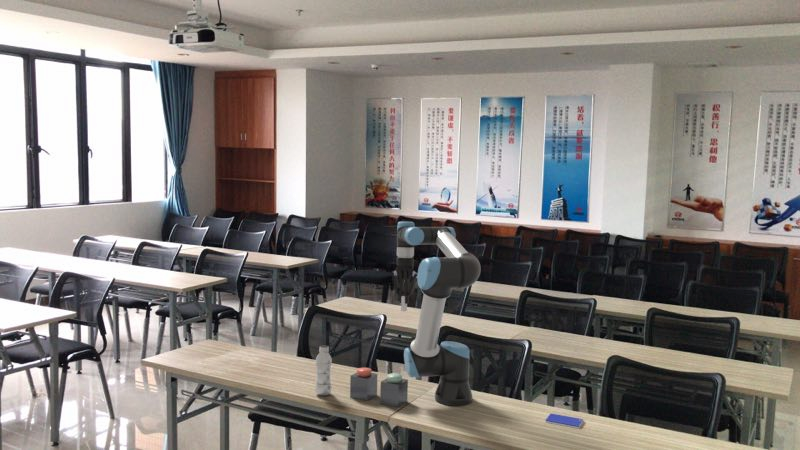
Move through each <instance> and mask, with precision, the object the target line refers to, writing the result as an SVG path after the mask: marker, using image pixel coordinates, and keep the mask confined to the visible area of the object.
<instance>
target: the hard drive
mask: <svg viewBox="0 0 800 450" xmlns="http://www.w3.org/2000/svg"><path fill="white" fill-rule="evenodd" d="M583 422H584V418H578V417H573V416H569V415H568V416H567V415H561V414H556V413H550V414H548V416H547V417H546V418H545V423H548V424H553V425H558V426H564V427H569V428H574V429H580V428H581V426H582V424H583Z"/></svg>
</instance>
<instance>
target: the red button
mask: <svg viewBox="0 0 800 450" xmlns="http://www.w3.org/2000/svg"><path fill="white" fill-rule="evenodd" d="M372 371H373V370H372V369H371V368H370V367H358V368H357V369H356V373H357V376H360V377H369V376H371V373H373V372H372Z"/></svg>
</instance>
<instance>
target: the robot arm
mask: <svg viewBox="0 0 800 450" xmlns="http://www.w3.org/2000/svg"><path fill="white" fill-rule="evenodd" d="M396 227H397V228H396V256H397V257H396V267H395V270H394V271H391V272H390V275H391V277H392V281H393V287H394V291H395V294H396V295H398V296H399V304H400V307H401V308H400V311H401V312H406V311H408V304H409V302H410V296H412V295H414V292H415V287H416V284H417V285H418V287H419V288H420V291H421V293H422V294H423V295H422V300H421V301H422V302H421V306H420V314H419V318H418V323H417V324H418V325H417V329H416V335H415V339H413V340H412V341H411V343H410V347H406V348H404V351H403V361H404V368H405V370H406V373H407V375H408V376H409V377H410V378H424V377H438V376H439V381H438V383H437V387H436V390H435V392H434V399H435V401H436V402H437V403H439V404H442V405H446V406H454V407H457V406H459V407H460V406H466V405H469V404H471V403H472V402H473V393H472V390H471V386H470V382H469V377H470V376H469V375H470V374H469V373H470V359H471V357H470V349H469V347H468V345H466V344H463V343H461V342H458V341H451V340H450V341H449V340H444V341H441V343H440V345H439V344H438V340H439V334H440V330H441V326H442V321H443V317H444V316H443V315H444V310H445V306H446V305H445V304H446V301H447V298H450V296H451V294H452V292H453V289H454V290H455V289H457V290H458V289H465V288H469V287H471V286H472V285H474V284H475V283H476V282H477V281H478V279H479V277H480V276H481V272H482V271H481V270H482V269H481V267H482V266H481V263H480V261H479V259H478V258H477V257H476V256H475V255H474V254H473V253H471V252H469V251H467V250H466V248H464V246H463V244H461V243H460V242H459V241H458V240H457V239H456V236H457V234H456V231H455V228H454V227H451V226H415V223H414V222H413V221H398V222H397V226H396ZM418 245H419V246H420V245H427V246H428V245H436V246H437V247H438V248H439V249H440V250H441V252H442V253H443V254H444V255H445V257H437V256H433V257H426V258H424V259H422V261H421V262H420V263H419V266H418V269H417V272H416V271H415V268H414V265H415V262H414V260H415V259H414V256H415V246H418ZM411 277H412V278H411Z"/></svg>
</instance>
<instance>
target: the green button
mask: <svg viewBox="0 0 800 450" xmlns="http://www.w3.org/2000/svg"><path fill="white" fill-rule="evenodd" d="M386 378H387V381H388V382H391V383H399V382H401V381H402V379H403V374H401V373H397V372H392V373H387V375H386Z"/></svg>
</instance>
